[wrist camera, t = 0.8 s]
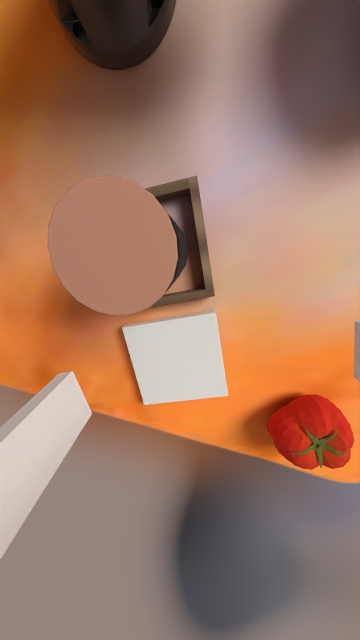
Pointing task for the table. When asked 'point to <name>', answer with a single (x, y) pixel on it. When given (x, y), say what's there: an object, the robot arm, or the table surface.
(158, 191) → the holder
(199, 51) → the table surface
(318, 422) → the tomato
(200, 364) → the tile
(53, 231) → the coffee jar
